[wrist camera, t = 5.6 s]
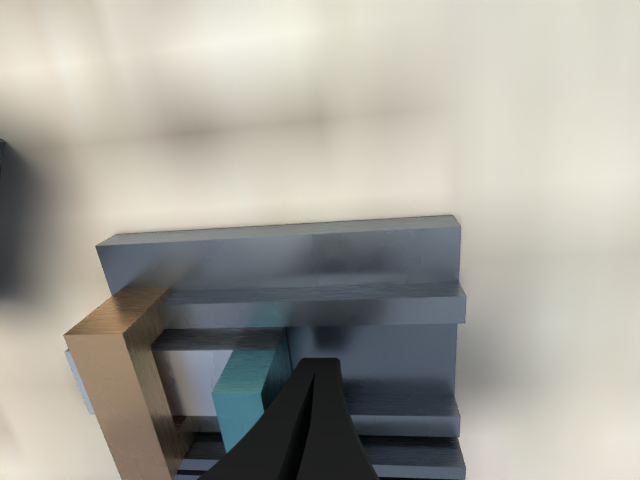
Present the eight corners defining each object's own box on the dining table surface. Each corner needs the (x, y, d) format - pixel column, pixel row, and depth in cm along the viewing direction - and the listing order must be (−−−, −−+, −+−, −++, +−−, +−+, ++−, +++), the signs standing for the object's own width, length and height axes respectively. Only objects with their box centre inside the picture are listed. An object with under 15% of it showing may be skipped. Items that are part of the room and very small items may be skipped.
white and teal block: (294, 387, 15) (275, 467, 12) (113, 386, 16) (50, 460, 13) (284, 324, 14) (260, 393, 11) (91, 328, 15) (17, 392, 12)
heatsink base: (445, 428, 17) (471, 530, 13) (174, 423, 18) (123, 511, 14) (452, 215, 13) (490, 266, 9) (115, 234, 15) (27, 284, 11)
